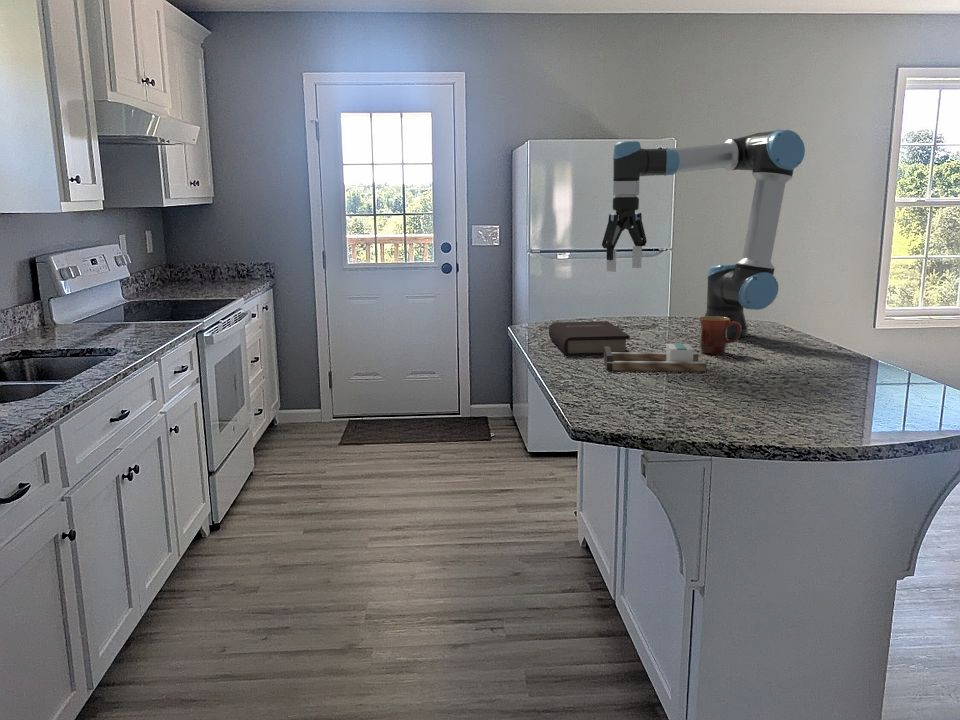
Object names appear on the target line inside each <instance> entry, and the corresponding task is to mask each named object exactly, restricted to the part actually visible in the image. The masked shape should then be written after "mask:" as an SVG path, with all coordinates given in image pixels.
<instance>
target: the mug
mask: <svg viewBox="0 0 960 720" xmlns="http://www.w3.org/2000/svg"><path fill="white" fill-rule="evenodd" d="M698 322H699V325H700V327H701V334H700V337H699V339H700V340H699V348H700V349H699V350H700V352H701V353H703V354H705V355H711V356H712V355H713V356H714V355H715V356H717V355H723V354H724V353H725V352H726V349H727V344H730V343H734V342H735V341H737V340H739V336H740V334H741V325H740V323H738V322H735V321H730V318H727V317H719V316H705V315H704V316H701V317H698ZM733 324H735V325H737V326H738V332H737V335H736V337H735V338H727V327H728V326H730V325H733Z"/></svg>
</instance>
